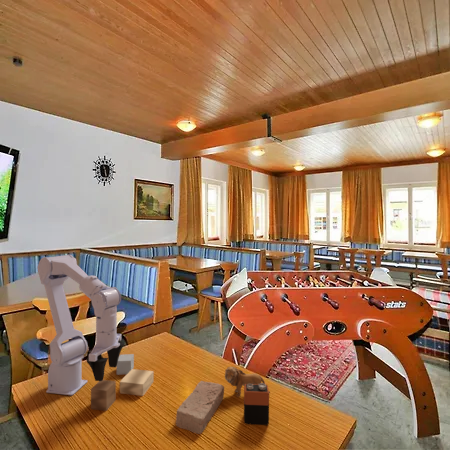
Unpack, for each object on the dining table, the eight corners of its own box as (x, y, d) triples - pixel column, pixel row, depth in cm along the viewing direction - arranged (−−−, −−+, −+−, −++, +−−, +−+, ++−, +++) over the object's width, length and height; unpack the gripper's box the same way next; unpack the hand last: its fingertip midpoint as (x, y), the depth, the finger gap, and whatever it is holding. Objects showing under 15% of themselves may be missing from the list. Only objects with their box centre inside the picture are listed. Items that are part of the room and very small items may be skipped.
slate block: (116, 374, 103) (116, 361, 103) (120, 367, 108) (120, 354, 108) (130, 374, 104) (130, 360, 104) (133, 367, 109) (133, 354, 109)
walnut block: (90, 409, 85) (90, 389, 85) (100, 398, 90) (100, 379, 90) (106, 411, 84) (106, 390, 84) (115, 400, 89) (115, 381, 89)
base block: (119, 393, 93) (119, 381, 92) (131, 380, 100) (132, 368, 100) (143, 396, 91) (143, 384, 91) (153, 382, 99) (153, 371, 99)
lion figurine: (225, 400, 90) (225, 371, 89) (224, 389, 95) (224, 363, 95) (271, 399, 90) (271, 370, 90) (268, 389, 96) (268, 362, 95)
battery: (269, 426, 78) (269, 390, 78) (244, 424, 79) (244, 389, 79) (267, 415, 83) (267, 381, 83) (243, 414, 83) (244, 380, 83)
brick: (201, 435, 75) (202, 418, 75) (174, 427, 78) (174, 410, 78) (224, 399, 91) (224, 384, 90) (200, 393, 94) (201, 378, 93)
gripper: (105, 340, 79) (105, 388, 79) (130, 321, 93) (130, 362, 94) (81, 338, 80) (81, 386, 80) (110, 319, 94) (109, 360, 95)
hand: (106, 373), depth 87 cm, fingers open, 7 cm apart
